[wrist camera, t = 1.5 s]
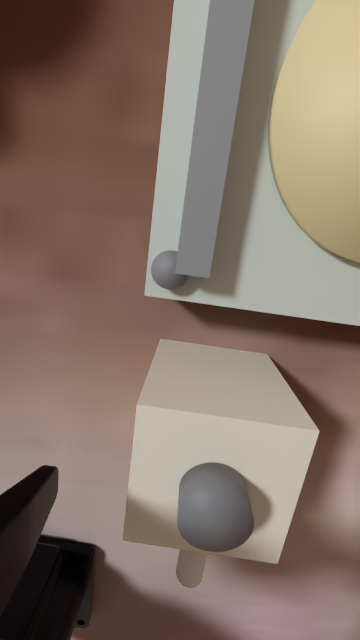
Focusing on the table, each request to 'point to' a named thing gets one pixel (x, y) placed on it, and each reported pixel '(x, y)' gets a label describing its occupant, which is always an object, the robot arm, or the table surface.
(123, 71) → the table surface
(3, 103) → the table surface
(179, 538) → the spout can
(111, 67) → the table surface
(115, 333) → the table surface
